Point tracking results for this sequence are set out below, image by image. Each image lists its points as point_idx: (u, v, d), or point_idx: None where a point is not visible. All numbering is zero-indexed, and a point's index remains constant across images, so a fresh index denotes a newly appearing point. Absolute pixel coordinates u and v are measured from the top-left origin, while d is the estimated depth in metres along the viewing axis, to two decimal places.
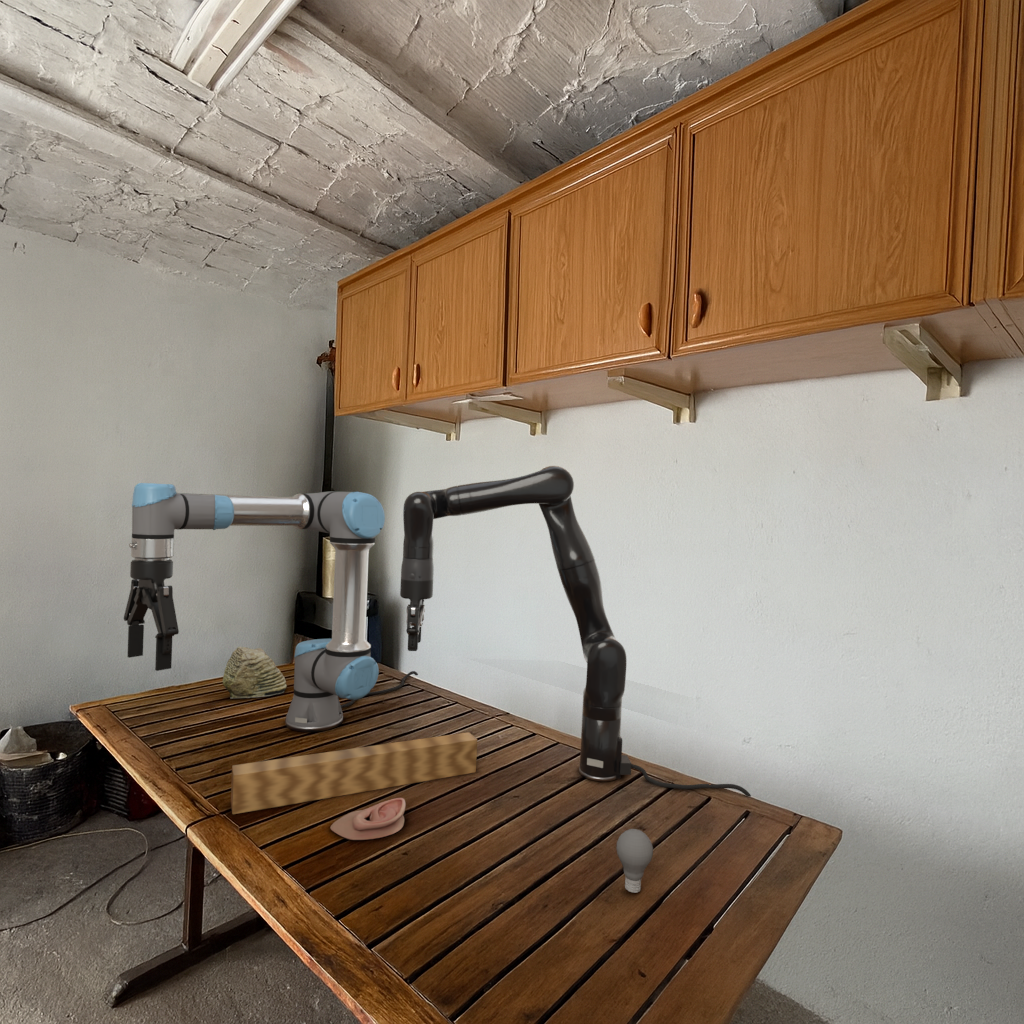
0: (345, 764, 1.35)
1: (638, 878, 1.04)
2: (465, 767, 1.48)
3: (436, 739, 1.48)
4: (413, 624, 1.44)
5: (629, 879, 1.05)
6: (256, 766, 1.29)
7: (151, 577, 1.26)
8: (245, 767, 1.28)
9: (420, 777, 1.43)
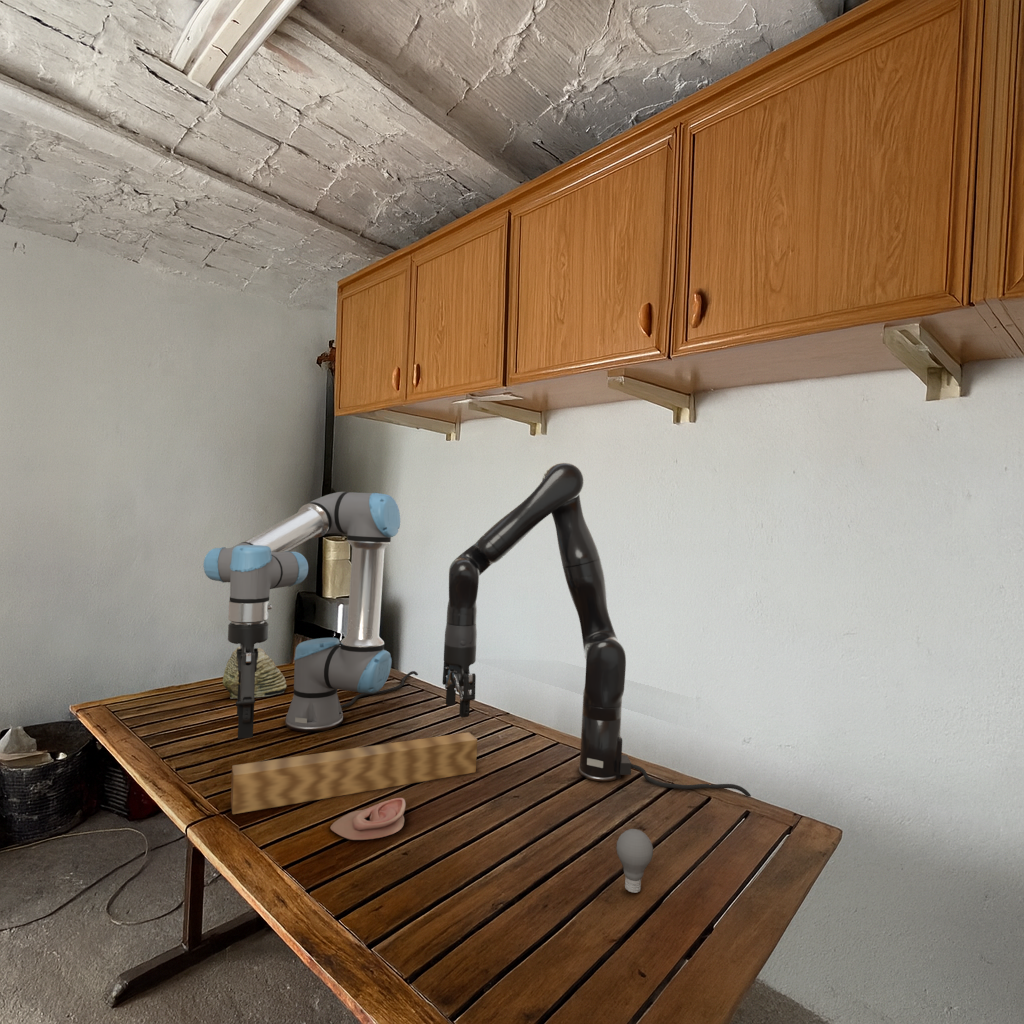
0: (345, 764, 1.35)
1: (638, 878, 1.04)
2: (465, 767, 1.48)
3: (436, 739, 1.48)
4: None
5: (629, 879, 1.05)
6: (256, 766, 1.29)
7: None
8: (245, 767, 1.28)
9: (420, 777, 1.43)
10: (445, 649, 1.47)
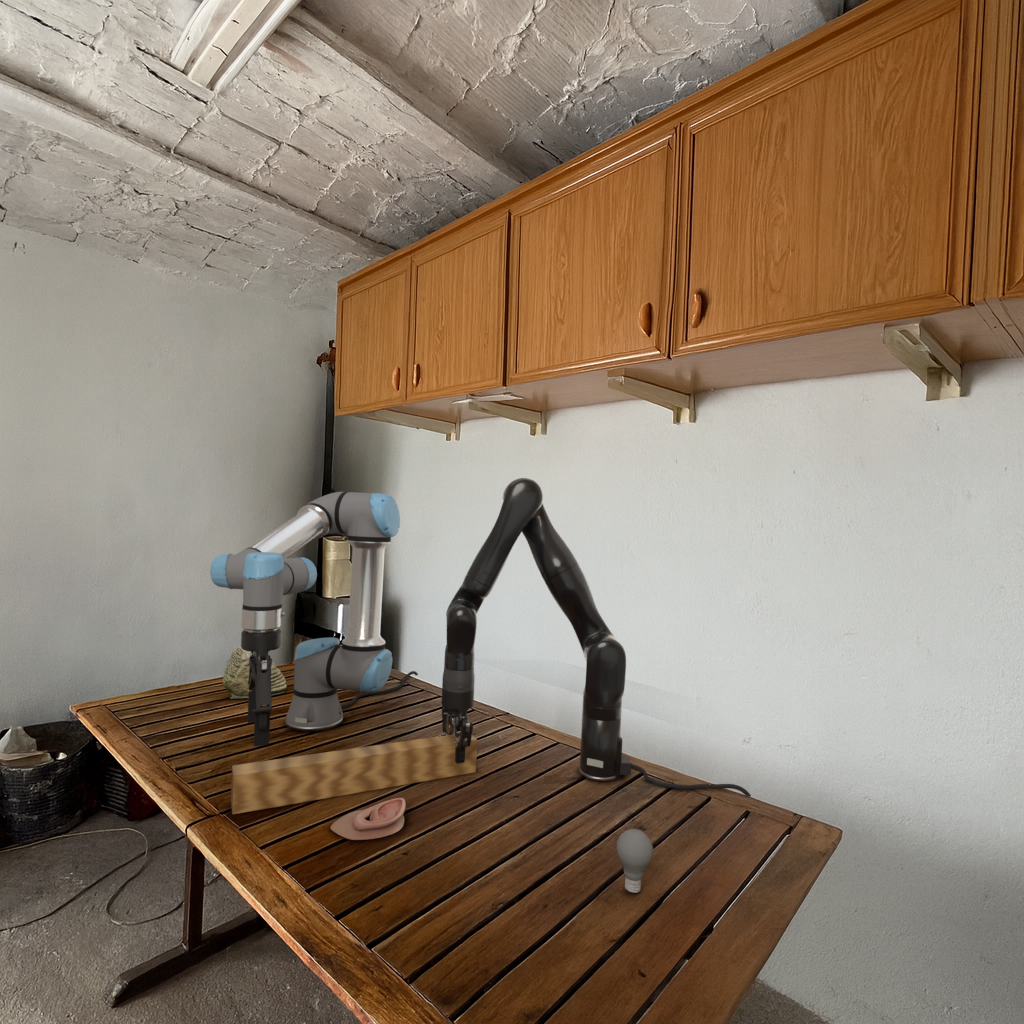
0: (345, 764, 1.35)
1: (638, 878, 1.04)
2: (465, 767, 1.48)
3: (436, 739, 1.48)
4: (460, 736, 1.47)
5: (629, 879, 1.05)
6: (256, 766, 1.29)
7: None
8: (245, 767, 1.28)
9: (420, 777, 1.43)
10: (443, 693, 1.47)
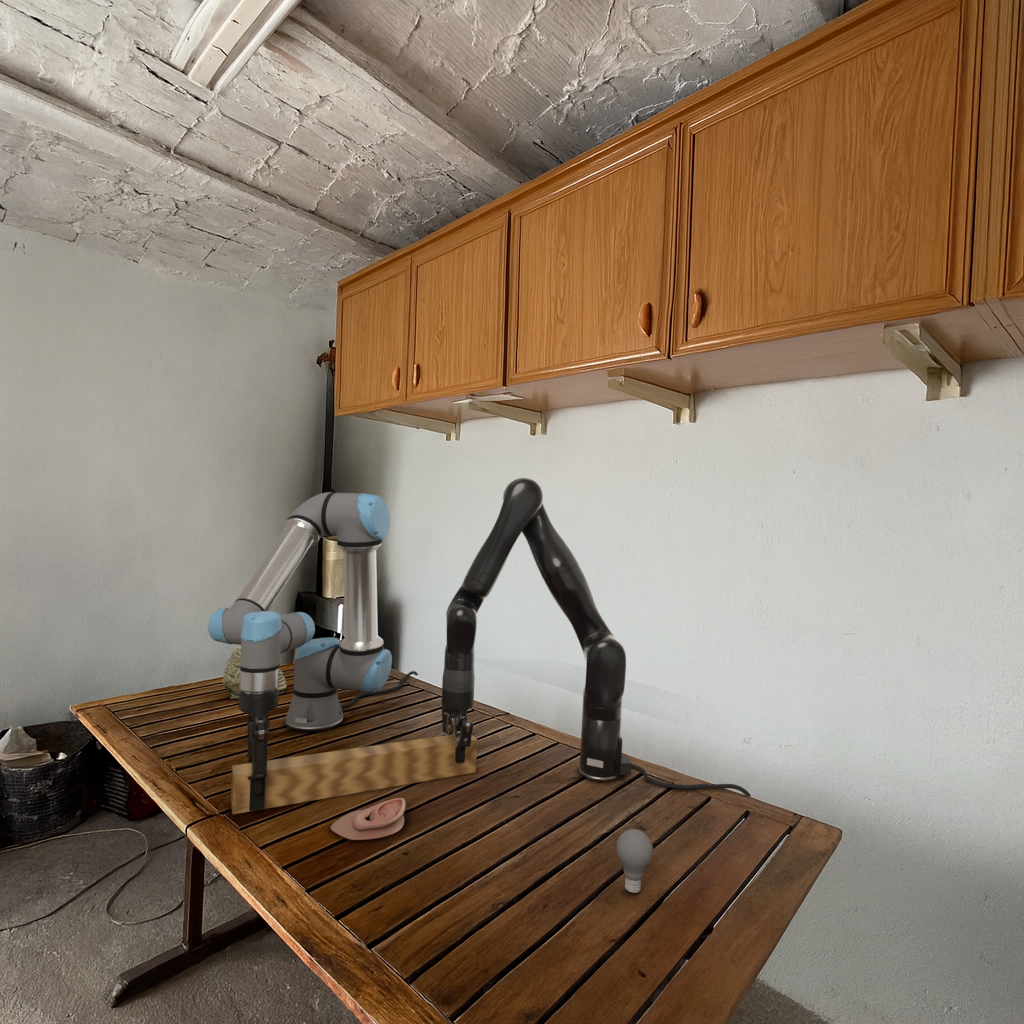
0: (345, 764, 1.35)
1: (638, 878, 1.04)
2: (465, 767, 1.48)
3: (436, 739, 1.48)
4: (460, 736, 1.47)
5: (629, 879, 1.05)
6: None
7: None
8: (245, 767, 1.28)
9: (420, 777, 1.43)
10: (443, 693, 1.47)
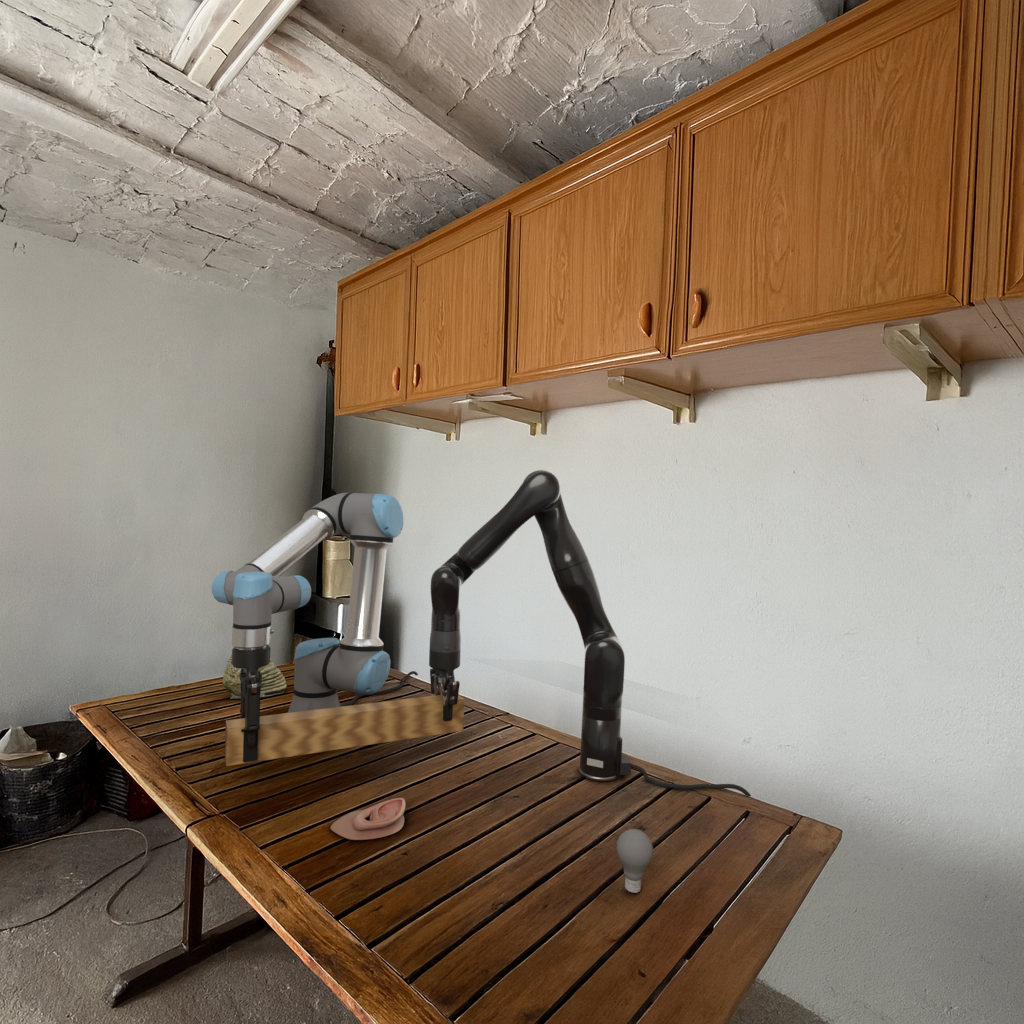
0: (336, 720, 1.40)
1: (638, 878, 1.04)
2: (452, 725, 1.52)
3: (424, 698, 1.52)
4: None
5: (629, 879, 1.05)
6: None
7: None
8: (238, 722, 1.33)
9: (409, 734, 1.47)
10: (430, 654, 1.52)
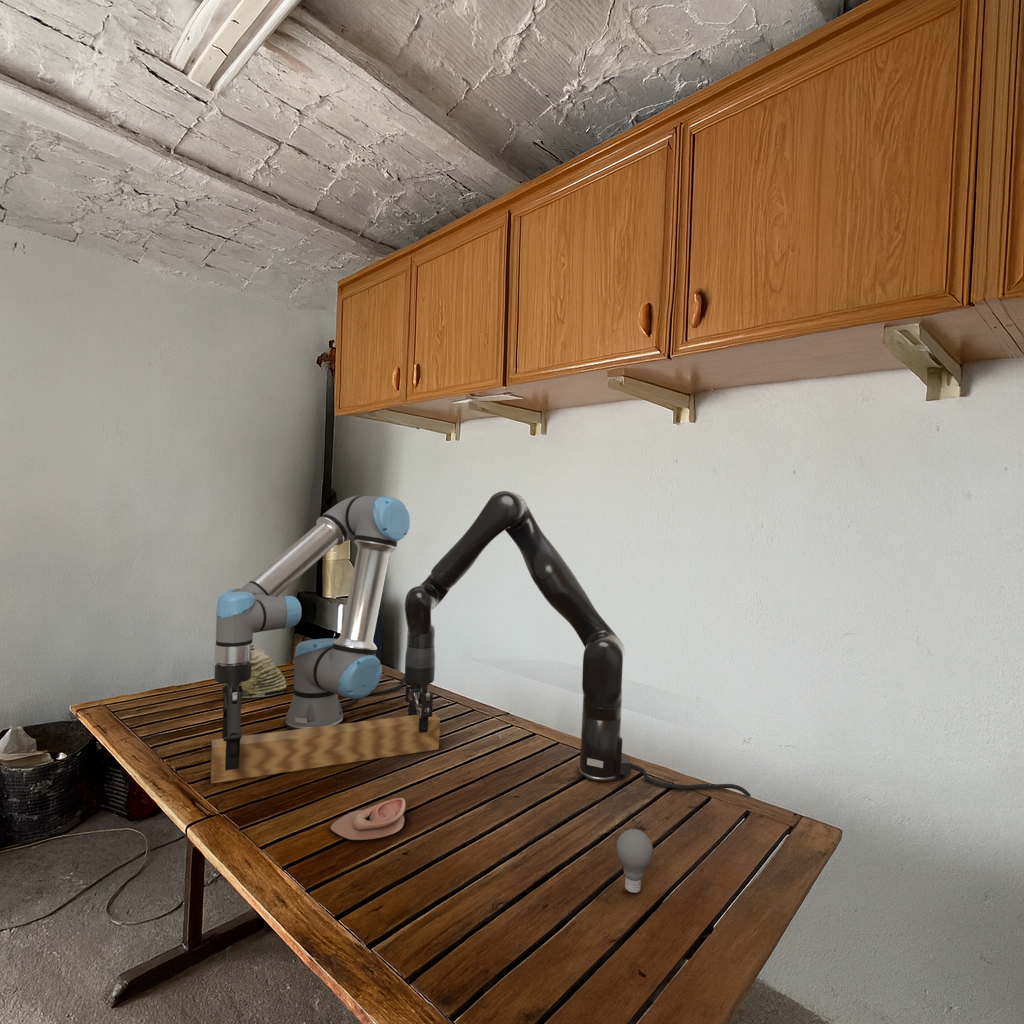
0: (316, 739, 1.48)
1: (638, 878, 1.04)
2: (428, 744, 1.60)
3: (402, 718, 1.60)
4: None
5: (629, 879, 1.05)
6: None
7: None
8: (223, 741, 1.41)
9: (386, 753, 1.55)
10: (405, 669, 1.60)
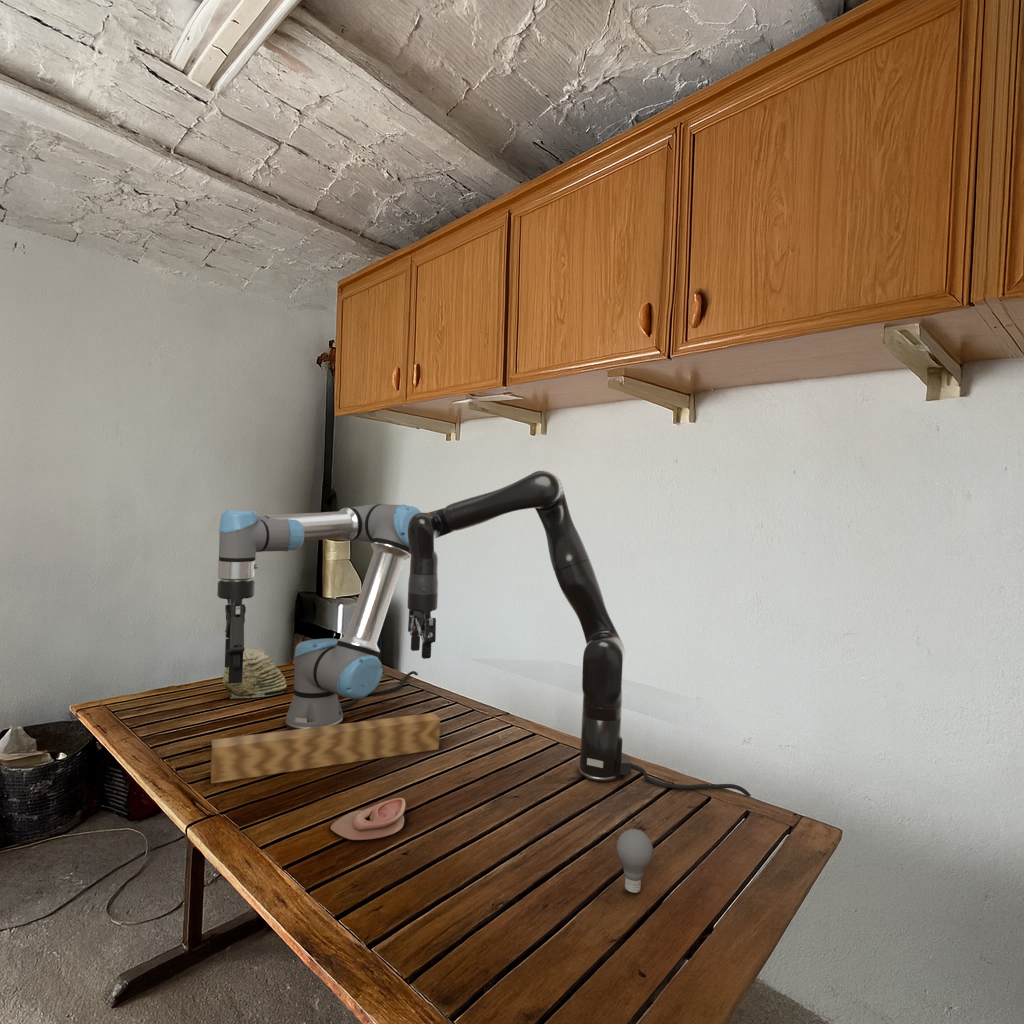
0: (316, 739, 1.48)
1: (638, 878, 1.04)
2: (428, 744, 1.60)
3: (402, 718, 1.60)
4: None
5: (629, 879, 1.05)
6: (233, 740, 1.42)
7: None
8: (223, 741, 1.41)
9: (386, 753, 1.55)
10: (408, 597, 1.59)
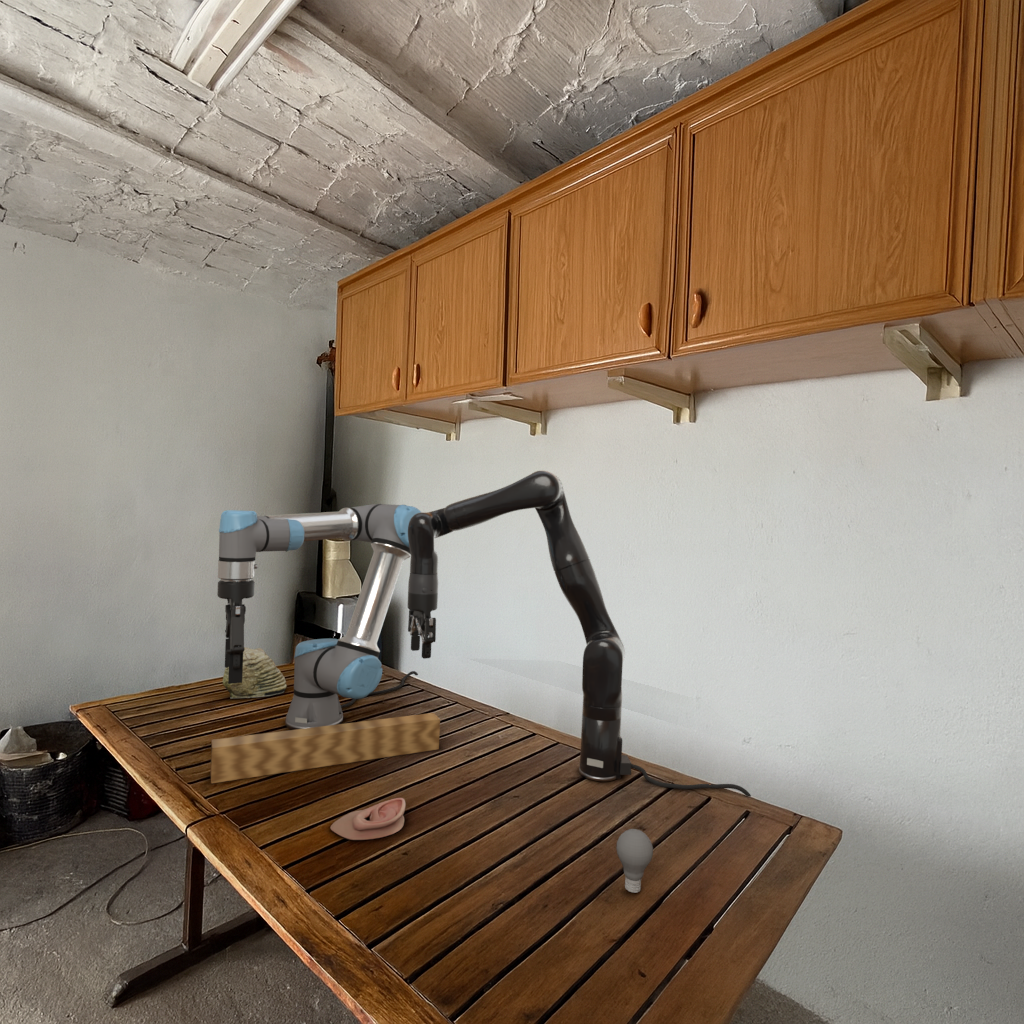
0: (316, 739, 1.48)
1: (638, 878, 1.04)
2: (428, 744, 1.60)
3: (402, 718, 1.60)
4: None
5: (629, 879, 1.05)
6: (233, 740, 1.42)
7: None
8: (223, 741, 1.41)
9: (386, 753, 1.55)
10: (408, 596, 1.59)
